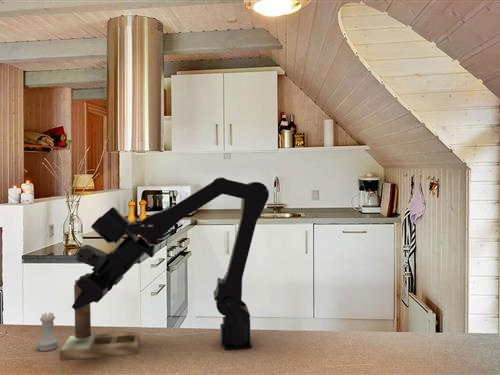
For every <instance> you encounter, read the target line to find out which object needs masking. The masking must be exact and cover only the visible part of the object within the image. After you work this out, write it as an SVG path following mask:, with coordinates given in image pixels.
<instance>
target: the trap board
mask: <svg viewBox="0 0 500 375" xmlns="http://www.w3.org/2000/svg"><path fill="white" fill-rule="evenodd" d="M140 337H141V332H140V331H129V332H128V331H125V332H115V333H112V332H111V333H99V334H96V333H91V336H90V337H87V338H83V339H77V338H75V335H69V336H68V337H67V338H66V341H65V342H64V343H63V345H62V347H61V349H60V350H59V361H67V360H69V361H70V360H80V359H91V358H104V357H105V358H106V357H115V356H126V355H127V356H128V355H129V356H130V355H138V353H139V352H138V351H139V346H140V341H141V340H140V339H141V338H140Z"/></svg>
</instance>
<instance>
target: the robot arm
mask: <svg viewBox="0 0 500 375" xmlns="http://www.w3.org/2000/svg"><path fill="white" fill-rule="evenodd" d="M269 192H270V191H269V189H268V188H267V186H266V185H265V184H264V183H263V182H259V181H252V182H251V181H250V182H248V183H243V182H240V181H234V180H231V179H227V178H226V177H217V178H214V180H213V181H212V182H210V183H208V184H207V185H205V186H203V187H202V188H200V189H199V190H197V191H195V192H194V193H192V194H190V195H189V196H187V197H186V198H184V199H183V200H181V201H179V202H177V203H176V204H174V205H173V206H170V207H167V208H164V209H162V210H159V211H156V212H153V213H151V214H150V215H148V216H146V217H145V218H143V219H142V220H137V221H136V220H134V221H132V222H130V221H129V220H127V219H126V218H125V217H124V215H122V214H121V213H120V211H119V210H118V208H116V207H114V206H113V207H111V208H110V209H108V210H107V211H106V212H105V213H103V215H101V216H99V217H98V218H97V219H96V220H95V221H94V222H93V223H92V225H91V226H90V228H91V229H92V230H93V231H94V233H96V234H97V235H99V236H100V237H101V239H103V240H104V241H105V242H106V243H107V244H113V243H114V245H115V244H118V242H119V241H121V240H122V238H124V236H125V235H126V237H125V238H124V239H123V240H122V241H121V242H120V243H119V244H118V245H117V246H116V247H115V248H114V249H113V250H111V251H110V252H108V253H107V252H106V251H104V250H101V249H99V248H96V247H94V246H92V245H90V244H84V245H82V246H80V249H79V250H78V251H77V252H76V258H75V261H77V262H79V263H83V264H86V265H88V266H90V267H93V268H91V271H92V272H90V273H89V272H88V273H86V274H84V275H81V276H82V277H81V278H80V279H79V278H78V279H79V280H78V279H77V280H78V281H77V282H76V285H77V286H78V287H79V288H80V289H81V290H82V291H81V292H80V294H79V296H78V297H77V299H76V301H75V302H73V304H72V305H71V308H72V309H73V310H74V311H75V310H76V309H79V308H81V307H83V306H85V305H88V304H90V305H91V304H92V303H96V304H98V302H100V301H101V300H102V299H103V298H104V297H105V296H106V295H107V294H108V292H111V290H112V289H113V287H114V286H116V285H118V283H120V282H121V281H122V280H123V279H124V275H126V274H127V272H129V271H130V270H131V269H132V268H133V266H134V265H135V264H136V263H137V262H138V261H139V260H140V259H141V258H142V257H143V256H144V255H145V254H146V255H147V256H148V257H150V258H153V257H154V256H155V254H156V250H155V247H156V244H155V243H153V244H152V243H149V241H150V242H155V241H158V240H160V239H161V238H163V237H164V236H165V235H166V234H167V233H168V232H169V231H170V230H171V229H172V228H174V226H175V225H177V224H178V223H179V222H180V221H181V220H182V219H184V218H185V217H188V216H189V215H191V214H192V213H194V212H195V211H197V210H199V209H201V208H202V207H204V206H206V205H207V204H208V203H210V202H211V201H213V200H215V199H216V198H218V197H220V196H221V195H226V196H229V197H235V198H237V199H238V198H239V199H241V200H240V201H241V202H240V219H239V223H238V227H237V231H236V235H235V239H234V242H233V243H234V244H233V247H232V250H231V255H230V258H229V262H228V267H227V270H226V273H225V275H223V276H224V277H223V278H220V277H217V280H216V288H215V289H214V291H213V299H214V301H215V304H216V309H217V311H218V312H219V314H221V315H222V316H223V317H222V323H220V324H219V325H220V326H219V328H220V329H219V330H220V332H219V333H220V336H219V337H220V344H221V345H223V347H224V350H237V349H250V348H253V344H252V342H251V314H250V311H249V308H248V306H247V304H246V302H244V300H242V299H243V298H242V296H243V295H242V294H243V277H244V272H245V268H246V265H247V261H248V256H249V252H250V248H251V244H252V241H253V237H254V233H255V229H256V225H257V222H258V220H259V218H260V216H261V215H262V212H263V211H264V209H265V207H266V204H267V203H268V199H269V197H270V193H269ZM139 236H140V237H139Z"/></svg>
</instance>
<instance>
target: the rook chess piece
mask: <svg viewBox="0 0 500 375" xmlns="http://www.w3.org/2000/svg"><path fill="white" fill-rule="evenodd" d="M55 318H56V316H55V315H54V313H53V312H48V313H47V312H45V313H43V314H41V317H40V319H39V320H40V322H41V325H40V327H41V336H40V338H39V340H38V342H37V349H38V350H39V351H40V352H48V351H49V352H50V351H53V350H55V349H57V348H58V346H59V343H58V338H57V337H56V335H55V331H54V325H55V323H54V320H55Z"/></svg>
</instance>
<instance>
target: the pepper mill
mask: <svg viewBox="0 0 500 375" xmlns="http://www.w3.org/2000/svg"><path fill="white" fill-rule="evenodd" d="M82 276H83V275H81V276H79V278H78V279H75V280H74V284H73V292H74V293H73V294H74V295H73V297H74V299H73V300H74V302H75V301H76V299H77V297H78V296H79V294H80V292H81V291H82V290H81V289H80V288H79V287H78V286H77V285H76V282H77V281H78V280H79V279H80V278H81V277H82ZM74 302H73V303H74ZM91 317H92V315H91V303H90V304H88V305H85V306H83V307H81V308H79V309H76V310H74V336H75V338H77V339H83V338H87V337H90V336H91V334H92V325H91V324H92V322H91V320H92V319H91Z"/></svg>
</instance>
